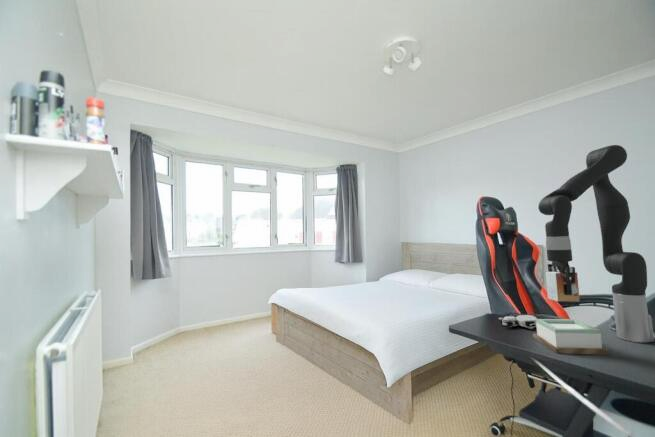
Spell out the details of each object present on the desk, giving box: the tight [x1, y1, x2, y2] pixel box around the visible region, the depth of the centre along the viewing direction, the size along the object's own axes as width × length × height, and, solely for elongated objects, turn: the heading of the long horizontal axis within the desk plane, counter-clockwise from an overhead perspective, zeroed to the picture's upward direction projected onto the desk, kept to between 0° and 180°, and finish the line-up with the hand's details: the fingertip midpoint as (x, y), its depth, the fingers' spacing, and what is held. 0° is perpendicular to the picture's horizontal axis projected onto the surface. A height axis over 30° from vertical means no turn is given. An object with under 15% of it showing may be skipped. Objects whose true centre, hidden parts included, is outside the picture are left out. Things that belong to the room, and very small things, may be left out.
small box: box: [545, 271, 580, 302], centre depth 114 cm, size 8×6×10 cm
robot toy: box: [498, 314, 538, 330], centre depth 137 cm, size 12×4×15 cm
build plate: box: [532, 333, 610, 356], centre depth 112 cm, size 16×17×2 cm
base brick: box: [536, 318, 603, 348], centre depth 112 cm, size 14×14×6 cm
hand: (563, 293), depth 114 cm, fingers closed on small box, 6 cm apart
